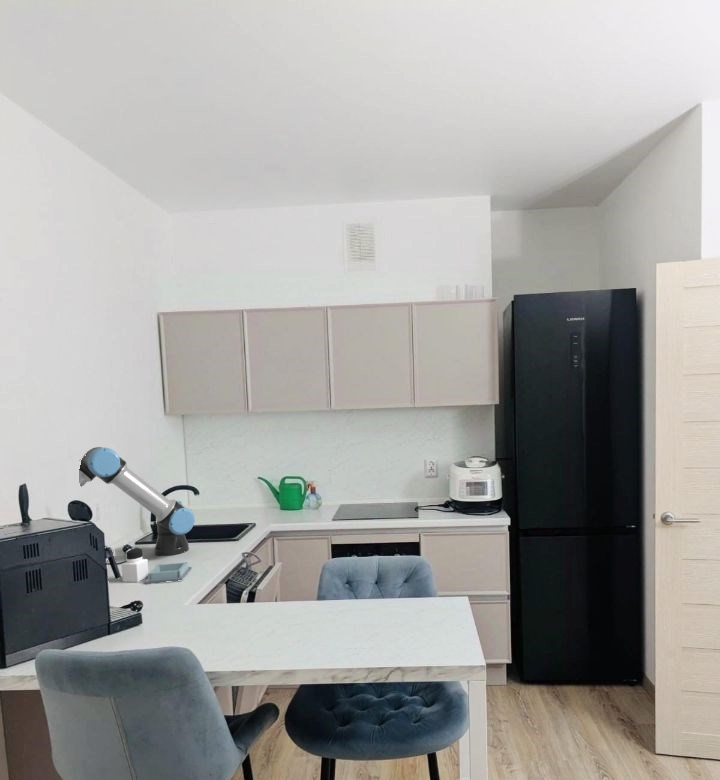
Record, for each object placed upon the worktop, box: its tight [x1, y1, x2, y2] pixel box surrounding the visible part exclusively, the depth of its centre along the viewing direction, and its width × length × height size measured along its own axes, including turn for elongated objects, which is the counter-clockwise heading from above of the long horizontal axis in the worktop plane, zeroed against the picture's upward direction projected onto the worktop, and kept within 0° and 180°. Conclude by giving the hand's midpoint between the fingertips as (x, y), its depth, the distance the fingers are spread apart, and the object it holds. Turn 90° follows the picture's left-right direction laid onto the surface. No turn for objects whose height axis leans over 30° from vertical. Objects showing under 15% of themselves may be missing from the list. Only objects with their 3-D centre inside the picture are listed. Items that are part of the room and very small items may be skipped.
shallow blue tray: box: [144, 561, 192, 585], centre depth 235 cm, size 16×14×4 cm
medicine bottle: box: [121, 547, 150, 583], centre depth 234 cm, size 7×7×12 cm
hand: (108, 557), depth 234 cm, fingers open, 13 cm apart
